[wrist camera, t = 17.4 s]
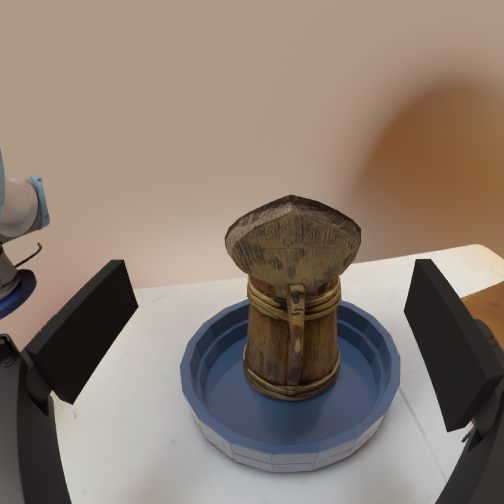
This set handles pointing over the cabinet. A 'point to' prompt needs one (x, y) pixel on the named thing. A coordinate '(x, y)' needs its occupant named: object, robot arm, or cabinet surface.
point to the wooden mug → (293, 293)
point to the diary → (488, 310)
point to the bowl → (285, 411)
